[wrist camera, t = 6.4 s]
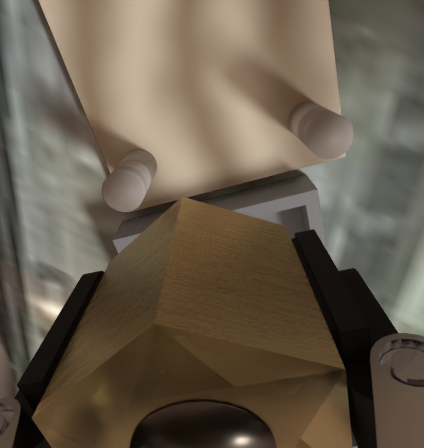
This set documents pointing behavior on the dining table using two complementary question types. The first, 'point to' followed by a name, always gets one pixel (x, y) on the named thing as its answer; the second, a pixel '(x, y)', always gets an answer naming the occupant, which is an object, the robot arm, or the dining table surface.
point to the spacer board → (201, 91)
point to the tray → (254, 209)
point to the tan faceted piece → (200, 345)
